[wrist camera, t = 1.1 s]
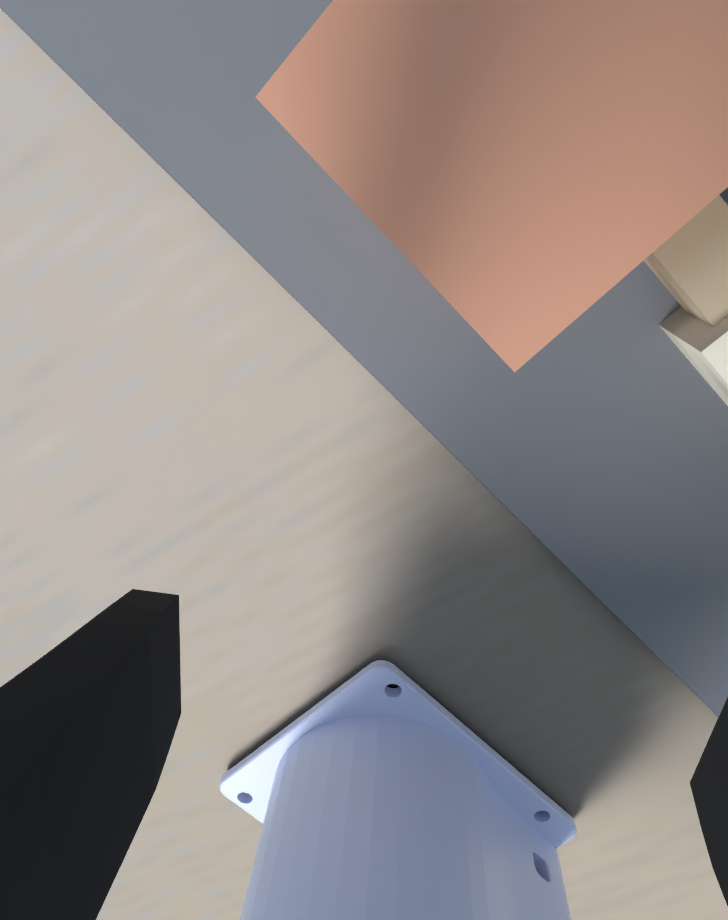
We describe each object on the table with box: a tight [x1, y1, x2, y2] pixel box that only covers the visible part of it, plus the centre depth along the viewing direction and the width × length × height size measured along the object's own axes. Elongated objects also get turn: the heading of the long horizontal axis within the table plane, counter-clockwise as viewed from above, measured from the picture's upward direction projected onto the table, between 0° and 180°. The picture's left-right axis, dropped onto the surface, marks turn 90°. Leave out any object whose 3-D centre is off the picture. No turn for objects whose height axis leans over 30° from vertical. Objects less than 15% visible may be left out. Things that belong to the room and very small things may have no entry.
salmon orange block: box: [256, 0, 728, 372], centre depth 12 cm, size 6×8×5 cm
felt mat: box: [0, 0, 728, 717], centre depth 16 cm, size 32×12×1 cm, turn 45°
